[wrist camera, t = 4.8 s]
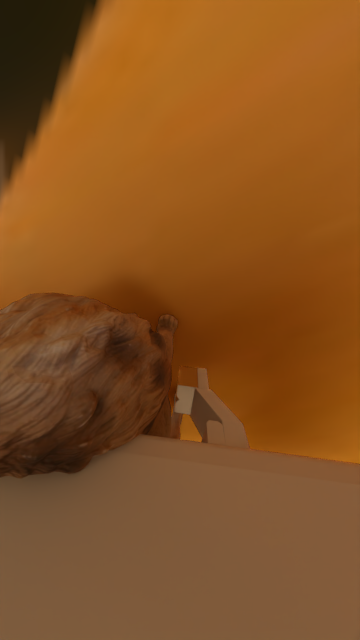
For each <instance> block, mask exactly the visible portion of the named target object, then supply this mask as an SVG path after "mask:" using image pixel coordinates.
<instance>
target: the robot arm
mask: <svg viewBox="0 0 360 640" xmlns="http://www.w3.org/2000/svg"><path fill="white" fill-rule="evenodd" d="M174 412H177V413H183V414H189V415H190V416H191V418H192V420H193V422H194V424H195V425H196V427H197V429H198V431H199V433H200V435H201V436H202V438H203V439H202V442H195V441H188V440H180V439H173V438H166V437H159V436H151V435H144V434H140V435H138V436H137V437H135V438H134V439H132V440H131V441H129V442H128V443H126V444H124V445H122V446H120V447H118V448H115V449H114V450H109V451H108V452H107V453H105V454H102V455H96V456H93V457H92V459H91V461H90V462H89V464H88V465H87V466H86V467H85V468H84V469H82V470H81V471H79V472H77V473H73V474H67V473H62V472H55V471H54V472H51V473H48V474H35V475H28V476H26V477H24V478H15V477H12V476H4V477H1V478H0V640H360V464H357V463H350V462H343V461H335V460H328V459H321V458H313V457H306V456H299V455H291V454H284V453H276V452H269V451H262V450H254V449H250V447H249V444H248V440H247V437H246V433H245V429H244V426H243V424H242V422H241V421H240V420H239V419H238V418H237V417H236V416H235V415H234V414H233V413H232V411H231V410H230V409H229V408H228V407H227V406H226V405H225V404H224V403H223V402H222V401H221V399H220V398H219V397H218V396H217V395H216V394H215V393H214V392H213V391H212V390H209V384H208V376H207V369H206V368H194V367H186V366H180V367H179V375H178V382H177V390H176V399H175V409H174Z"/></svg>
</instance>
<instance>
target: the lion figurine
mask: <svg viewBox="0 0 360 640" xmlns="http://www.w3.org/2000/svg"><path fill="white" fill-rule="evenodd" d="M158 324H159V325H158V326H157V329H156V330H157V332H153V331H152V329H151V325H150V323H149V322H148V321H147V320H145V319H142V318H139V317H138V315H137V314H136V313H128V314H125V313H121V312H120V311H118V310H117V309H115V308H111V307H110V306H108V305H106V304H103V303H101V302H100V301H98V300H95V299H89V298H87V297H84V296H77V297H75V296H72V295H66V294H59V293H42V294H30V295H28V296H26V297H24V298H22V299H21V300H19V301H16V302H13V303H11V304H10V305H9V306H7V307H6V308H4V309H2V310H0V478H1V477H4V476H12V477H15V478H24V477H26V476H28V475H35V474H48V473H51V472H54V471H55V472H62V473H67V474H73V473H77V472H79V471H81V470H82V469H84V468H85V467H86V466H87V465H88V464H89V462H90V461H91V459H92V457H93V456H96V455H102V454H105V453H107V452H108V451H109V450H114V449H115V448H118V447H120V446H122V445H124V444H126V443H128V442H129V441H131V440H132V439H134V438H135V437H137V436H138V435H140V434H144V435H151V436H159V437H166V438H173V439H180V425H181V422H182V416H183V413H177V412H174V409H175V399H176V393H175V396H174V409H173V414H172V417H171V406H170V402H169V398H168V392H169V389H170V386H171V362H172V358H173V334H174V332H175V330H176V328H177V325H178V322H177V319H176V318H175V317H174V316H172V315H169V314H166V315H163V316H160V318H159V323H158Z"/></svg>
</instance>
